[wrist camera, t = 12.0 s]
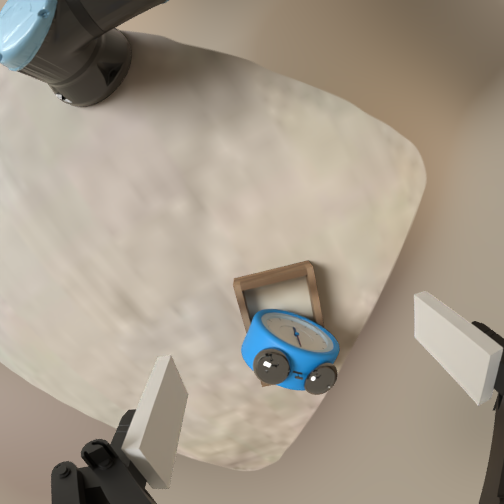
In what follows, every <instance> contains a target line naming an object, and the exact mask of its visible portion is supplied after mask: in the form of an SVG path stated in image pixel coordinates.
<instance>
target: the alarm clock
mask: <svg viewBox="0 0 504 504" xmlns="http://www.w3.org/2000/svg"><path fill="white" fill-rule="evenodd" d="M339 351H340V348H339V344H338V342H337V340H336V339H335V337H334V336H333V335H332V334H331V333H330V332H329V331H327V330H326V329H325V328H323V327H322V326H320V325H319V324H317V323H315V322H314V321H312V320H310V319H308V318H305V317H303V316H301V315H298V314H295V313H292V312H289V311H285V310H279V309H264V310H261V311H259V312H257V313H256V314H255V315H254V317H253V320H252V322H251V325H250V327H249V330H248V332H247V335H246V337H245V340H244V342H243V344H242V348H241V353H242V356H243V359H244V360H245V362H246V363H247V365H248V366H249V367H250V368H251V369H252V370H253V371H254V373H255V375H256V376H257V378H258V379H259V380H260V381H262V382H264V383H266V384H269V385H278V386H281V387H284V388H288V389H293V390H306V391H307V392H308V393H310V394H313V395H319V394H323V393H325V392H327V391H329V390H330V389H331V388H332V386H334V384H335V382H336V380H337V375H338V374H337V369H336V367H335V366H334V365H333V363H334V361H335V360H336V358H337V356H338V354H339Z"/></svg>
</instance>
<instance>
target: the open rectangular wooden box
mask: <svg viewBox="0 0 504 504" xmlns="http://www.w3.org/2000/svg"><path fill="white" fill-rule="evenodd" d="M233 287H234V291H235V294H236V298H237V301H238V305H239V308H240V312H241V316H242V319H243V323H244V326H245V330H246V333H247V332H248V330H249V327H250V325H251V322H252V320H253V317H254V315H255V314H256V313H257V312H259V311H261V310H264V309H279V310H285V311H289V312H292V313H295V314H298V315H301V316H303V317H305V318H308V319H310V320H312V321H314V322H315V323H317V324H319V325H320V326H322V327H323V328H324V324H323V318H322V313H321V307H320V301H319V296H318V290H317V285H316V279H315V274H314V269H313V266H312V265H311V264H310V262H309V261H304V262H300V263H296V264H292V265H288V266H284V267H280V268H275V269H271V270H267V271H263V272H259V273H255V274H251V275H247V276H242V277H238V278H234V284H233ZM261 384H262V387H265V386H269V384H266V383H264V382H262V381H261Z"/></svg>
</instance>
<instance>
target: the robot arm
mask: <svg viewBox="0 0 504 504" xmlns="http://www.w3.org/2000/svg"><path fill="white" fill-rule="evenodd" d="M167 1H169V0H8V1H7V3H6V4H5V6H4V7H3V8H2V10H1V12H0V63H1V64H2V65H4V66H6V67H8V68H9V69H10V70H12V71H18V72H20V73H23V74H26V75H28V76H31V77H33V78H36V79H38V80H40V81H43V82H46V83H48V85H49V86H50V88H51V89H52V91H53V92H54V93H55V95H56V96H57V97H58V98H59V99H60V100H61V101H63V102H65V103H68V104H70V105H73V106H78V107H84V106H90V105H93V104H96V103H98V102H100V101H102V100H103V99H105V98H106V97H108V96H109V95H110V94H111V93H113V92H114V91H115V90H116V88H117V87H118V86H119V85H120V84H121V82H122V81H123V79H124V78H125V76H126V74H127V72H128V69H129V66H130V62H131V47H130V44H129V42H128V40H127V38H126V37H125V36H124V35H123V34H122V33H121V32H120V31H119V30H118V29H116V28H115V27H117V26H119V25H121V24H122V23H124V22H126V21H128V20H129V19H132V18H133V17H135V16H137V15H139V14H141V13H143V12H145V11H147V10H149V9H151V8H153V7H155V6H157V5H159V4H163V3H166V2H167ZM414 315H415V333H414V335H415V336H414V337H415V338H416V339H417V341H418V342H419V343H420V344H421V345H422V346H423V347H424V348H425V349H426V350H427V351H428V352H429V353H430V354H431V355H432V356H433V357H434V358H435V359H436V360H437V361H438V362H439V363H440V365H442V367H443V368H444V369H445V370H446V371H447V372H448V373H449V374H450V375H451V376H452V377H453V378H454V379H455V381H456V382H457V383H458V384H459V385H460V386H461V387H462V388H463V389H464V390H465V392H466V393H467V394H468V395H469V396H470V397H471V398H472V399H473V400H474V402H475V403H476V404H477V405H478V406H479V405H481V404H482V403H484V402H486V401H487V400H489V399H490V398H491V396H492V393H493V389H495V390H496V391H497V392H498V396H497V399H496V402H495V405H494V408H493V410H495V409H496V413H495V423H494V431H493V438H492V445H491V451H490V457H489V462H488V467H487V472H486V477H485V482H484V486H483V489H482V493H481V497H480V501H479V504H504V338H502V337H501V336H500V335H498V334H496V333H495V332H494V331H493V330H491V329H490V328H489V327H487V326H486V325H484V324H482V323H479V322H476V321H474V322H472V323H470V322H469V321H467V320H466V319H465V318H463V317H462V316H460V315H459V314H458V313H456V312H455V311H454V310H452V309H451V308H449V307H448V306H447V305H445V304H444V303H443V302H441V301H440V300H438V299H437V298H435V297H434V296H433V295H431V294H430V293H428V292H427V291H423V292H420V293H417V294H414ZM187 398H188V393H187V390H186V388H185V386H184V384H183V381H182V379H181V377H180V375H179V372H178V370H177V368H176V365H175V363H174V361H173V358H172V356H171V355H167V356H160V357H158V358H157V360H156V363H155V365H154V367H153V370H152V372H151V375H150V377H149V379H148V382H147V384H146V387H145V389H144V392H143V394H142V397H141V399H140V402H139V404H138V407H137V409H135V410H128V411H127V412H126V413H125V415H124V416H123V417H122V418H121V421H120V423H119V426H118V428H117V431H116V433H115V435H114V437H113V440H112V442H111V444H109V443H108V442H107V441H106V440H102V439H96V440H93V441H90V442H89V443H87V444H86V445H85V446H84V447H83V449H82V451H81V457H82V459H83V460H84V461H85V462H86V463H87V465H88V467H83V468H77V467H76V466H75V465H74V464H73V463H72V462H69V461H66V462H62V463H59V464H58V465H57V466H55V467H54V469H53V470H52V474H51V488H52V489H51V493H52V504H157V503H156V502H155V501H154V499H153V498H152V497H151V495H150V494H149V493H148V491H147V490H146V489H145V486H146V482H148V483H149V485H150V486H151V487H152V488H154V489H157V488H158V489H169V488H170V482H171V477H172V471H173V466H174V461H175V456H176V451H177V446H178V441H179V436H180V432H181V427H182V422H183V417H184V412H185V408H186V403H187Z"/></svg>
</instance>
